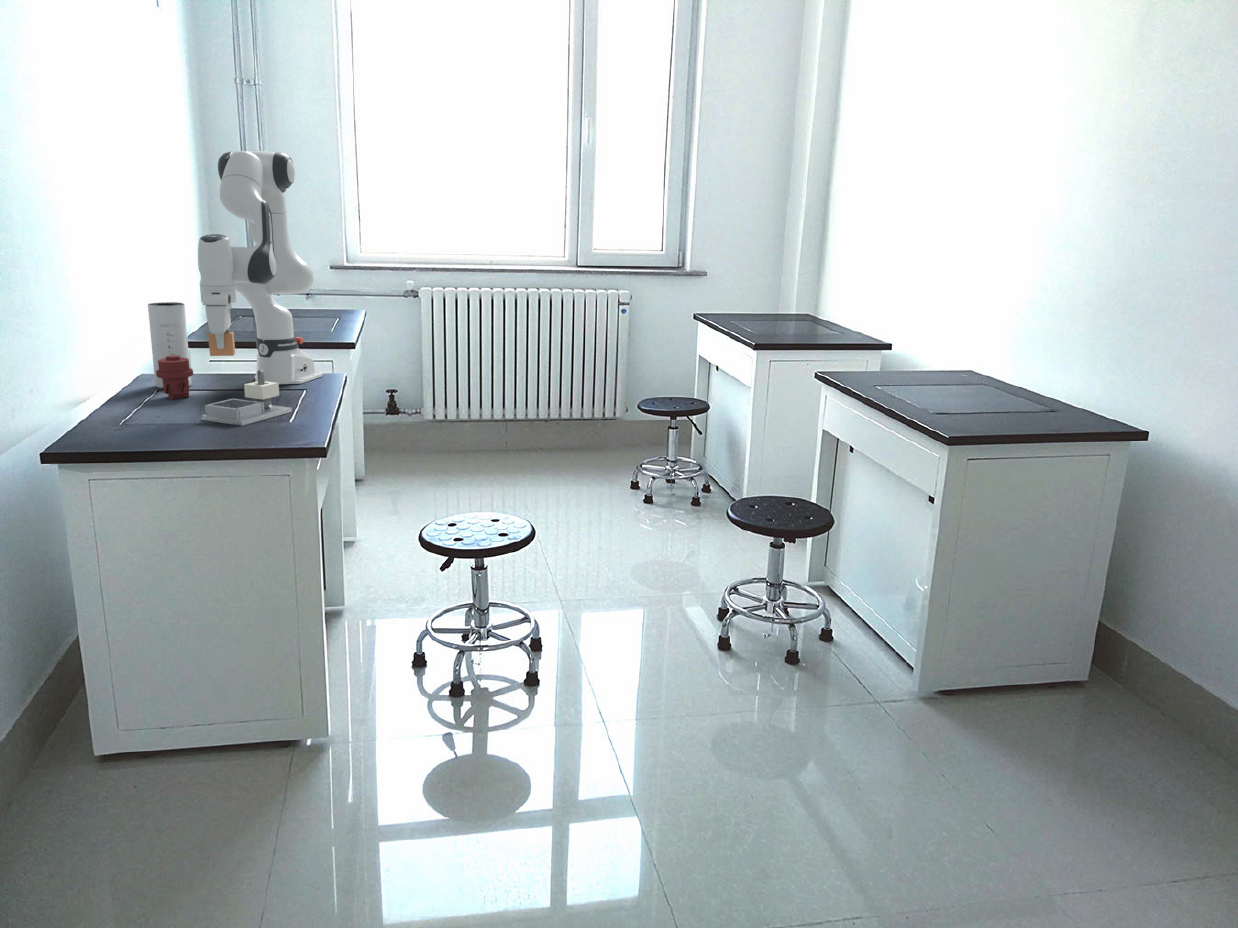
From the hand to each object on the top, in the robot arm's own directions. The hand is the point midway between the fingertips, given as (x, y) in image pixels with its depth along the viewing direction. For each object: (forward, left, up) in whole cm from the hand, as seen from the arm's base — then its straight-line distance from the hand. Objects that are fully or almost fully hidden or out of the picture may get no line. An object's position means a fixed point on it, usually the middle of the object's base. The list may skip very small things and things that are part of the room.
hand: (222, 346), depth 266 cm
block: (0, 0, -2) cm, 2 cm away
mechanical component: (-7, -27, -19) cm, 33 cm away
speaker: (-19, -41, -19) cm, 49 cm away
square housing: (-5, +8, -14) cm, 17 cm away
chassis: (+1, +8, -18) cm, 20 cm away
